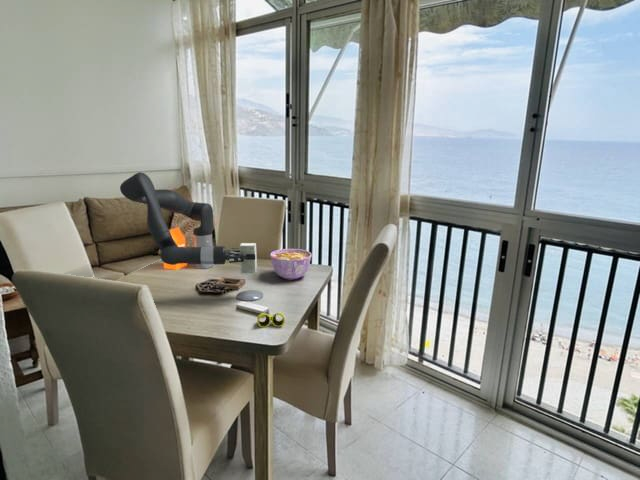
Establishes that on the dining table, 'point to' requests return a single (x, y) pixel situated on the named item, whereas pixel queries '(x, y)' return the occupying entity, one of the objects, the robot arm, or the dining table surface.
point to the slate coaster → (250, 295)
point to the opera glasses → (268, 320)
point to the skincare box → (248, 265)
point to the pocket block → (237, 282)
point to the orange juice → (180, 242)
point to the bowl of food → (290, 262)
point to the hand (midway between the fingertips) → (255, 255)
